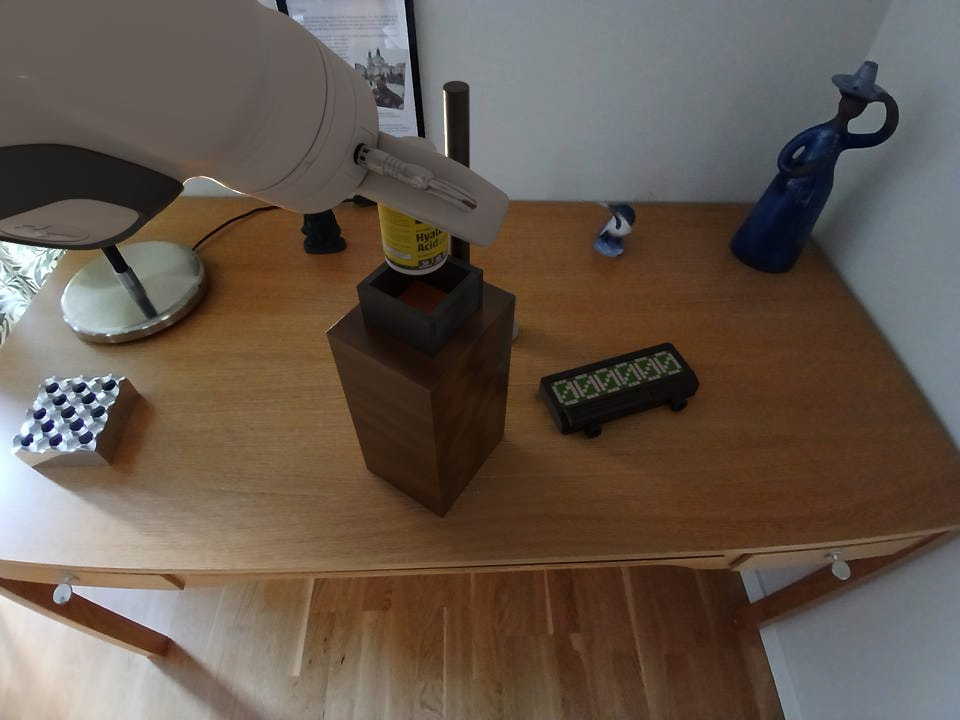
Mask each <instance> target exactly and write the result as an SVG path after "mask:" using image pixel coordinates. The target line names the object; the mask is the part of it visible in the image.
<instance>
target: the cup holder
mask: <svg viewBox="0 0 960 720" xmlns="http://www.w3.org/2000/svg"><path fill="white" fill-rule="evenodd" d="M470 90H471V87H470V85H469V83H467V82H465V81H462V80H450V81H447V82H445V83H444V84H443V85H442V103H443V105H442V107H443V129H444V131H443V132H444V156H446V157H449V158H451V159H452V160H454V161H456V162H458V163H460V164H462V165H464V166H466V167H467V168H469V169H470V170H471V168H470V167H471V159H470V158H471V154H470V153H471V150H470V149H471V142H470V141H471V140H470V139H471V137H470V135H471V134H470V133H471V126H470V125H471V124H470V123H471V122H470V121H471V119H470V118H471V117H470V113H471V111H470V110H471V109H470V108H471V107H470V106H471V104H470V99H471V98H470V96H471V95H470V94H471V93H470ZM355 289H356V293H357V299H358V303H357V304H356V305H355V306H354V307H353V308H351V310H349V311H348V312H347V313H346V314H344V315H343V316H342V317H341V318H340V319H339V320H338V321H336V322H335V324H333V325H332V326H331V327H330V328H329V329H327V331H325V334H326V337H327V340H328V344H329V347H330V350H331V354H332V357H333V361H334V365H335V367H336V371H337V374H338V377H339V380H340V381H339V382H340V383H341V388H342V390H343V393H344V397H345V401H346V403H347V408H348V410H349V415H350V418H351V421H352V424H353V427H354V430H355V431H354V432H355V434H356V437H357V439H358V441H357V442H358V445H359V447H360V452H361V454H362V457H363V461H364V464H365V467H366V469H367V470H368V471H370V472H371V473H372V474H373V475H376V477H379V478H380V479H382V480H383V481H385V482H386V483H388V484H389V485H391V486H392V487H394V488H396V489H397V490H398V491H400V492H401V493H404V494H405V495H406V496H408V497H409V498H411V499H412V500H414V501H415V502H417V503H419V504H420V505H422V507H425V508H426V509H427V510H429V511H431V513H434V514H435V515H437V516H438V517H440V518H441V519H443V518H444V517H445V516H446V514H447V513H448V512H449V511H450V510H451V508H452V506H453V505H454V504H455V503H456V501H457V500H458V498H459V497H460V495H461V494H462V493H463V492H464V491H465V489H466V488H467V486H468V485H469V484H470V482H471V481H472V479H473V478H474V477H475V475H476V474H477V473H478V472H479V470H480V469H481V467H482V466H483V465H484V463H485V462H486V461H487V459H488V458H489V457H490V456H491V454H492V453H493V452H494V450H495V449H496V447H497V446H498V445H499V443H500V442H501V441H502V439H503V438H504V436H505V427H506V415H507V407H508V394H509V393H508V392H509V381H510V368H511V360H512V359H511V358H512V346H513V340H512V336H513V324H514V319H515V312H516V305H515V301H516V298H517V295H516V294H514V293H513V294H511V293H510V291H508V290H507V291H505V290H506V289H502V288H500V287H498V286H496V285H494V284H492V283H490V282H487V281H485V280H484V269H483V268H481V267H478V266H476V265H473V264H472V263H471V243H469V242H466V241H464V240H462V239H459V238H457V237H455V236H453V235H450V234H448V256H447V259H446V261H445V262H444V264H443V265H442V266H441V267H439V268H438V269H436V270H435V271H433V272H430V273H427V274H422V275H410V274H405V273H401V272H398V271H396V270H395V269H393V268H392V267H391V266H390V265H389V264H388V263H387V261H386V260H384V261H383V262H382V263H381V264H380V265H379V266H377V267H376V268H375V269H374V270H373V271H372V272H370V273H369V274H368V275H367V276H366V277H364V278H363V279H362V280H361V281H360V282H359V283H358V284H357V285H355Z"/></svg>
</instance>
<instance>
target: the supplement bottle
mask: <svg viewBox="0 0 960 720" xmlns="http://www.w3.org/2000/svg"><path fill="white" fill-rule="evenodd" d="M397 137H398V138H401V139H403V140H406V141H409V142H411V143H414V144H416V145H419V146H422V147H424V148H427V149H430V150H432V151H435V152H437V146H436V145H435V144H434V143H433V142H432V141H431V140H430V139H427V138H426V137H421V136H415V135H404V136H397ZM377 209H378V217H379V224H380V230H381V232H380V234H381V240H382V247H383V254H384V258H385V261H387V263H388V264H389V265H390V266H391V267H392V268H393V269H395V270H396V271H398V272H401V273H405V274H410V275H422V274H427V273H430V272H433V271H435V270H436V269H438V268H439V267H441V266H442V265H443V264H444V262H445V261H446V259H447V256H448V254H449V236H448V233H446V232H443V231H441V230H439V229H436V228H434V227H432V226H430V225H427V224H425V223H423V222H420V221H418V220H416V219H413V218H411V217H409V216H407V215H404V214H402V213H400V212H397V211H395V210H393V209H391V208H388V207H386V206H384V205H381V204H379V203H377Z"/></svg>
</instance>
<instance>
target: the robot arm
mask: <svg viewBox="0 0 960 720" xmlns="http://www.w3.org/2000/svg"><path fill="white" fill-rule="evenodd" d="M398 137H399V136H395V135H393V134H391V133H388V132H384V131H382V130H380V119H379V109H378V104H377V101H376V98H375V96H374V93H373V90H372V89H371V86H370V85H369V83H368V82H367V80H366V79H365V78H364V76H363V75H362V74H361V73H360V72H359V71H358V70H357V69H355V68H354V67H353V66H352V65H350V64H349V63H348V62H347V61H346V60H344V58H342V57H341V56H340V55H338V54H337V53H336V52H335V51H334V50H333V49H332V48H330V47H329V46H328V45H327V44H325V42H323V41H322V40H321V39H319V38H318V37H317V36H316V35H314V34H313V33H312V32H311V31H310V30H308V29H307V28H306V27H304V26H303V25H302V24H301V23H300V22H298V21H297V20H295V19H294V18H293V17H292V16H289V15H288V14H286V13H284V12H281V11H280V10H277V9H274V8H272V7H268V6H266V5H264V4H262V3H261V2H260V1H259V0H0V242H3V243H8V244H9V243H10V244H14V245H21V246H28V247H35V248H42V249H43V248H44V249H50V250H51V249H52V250H62V251H95V250H100V249H105V248H108V247H112V246H115V245H118V244H121V243H122V242H125V241H126V240H128V239H130V238H131V237H133V236H134V235H135V234H137V233H138V232H139V231H141V229H143V228H144V227H145V226H147V225H148V224H149V223H150V222H151V221H153V220H154V219H155V218H157V217H158V216H159V215H160V214H162V213H163V212H164V211H165V210H166V209H168V208H170V206H171V205H172V204H173V203H175V202H176V200H177V199H179V198H180V196H181V195H182V194H183V193H184V192H185V186H184V185H185V183H186V182H187V181H188V180H191V179H196V178H197V179H198V178H206V179H210V180H212V181H214V182H215V183H218V184H219V185H221V186H222V187H224V188H226V189H228V190H231V191H234V192H236V193H239V194H243V195H245V196H248V197H250V198H254V199H257V200H259V201H261V202H264V203H266V204H270V205H272V206H276V207H278V208H281V209H284V210H287V211H290V212H293V213H297V214H304V215H311V214H312V215H313V214H319V213H323V212H325V211H328V210H330V209H333V208H335V207H336V206H338V205H340V204H341V203H343V202H344V201H345V200H347V199H348V198H349V197H350V196H351V195H352V194H353V193H354V194H356V195H358V196H361V197H363V198H365V199H367V200H369V201H371V202H374V203H377V204H378V203H379V204H381V205H384V206H386V207H388V208H391V209H393V210H395V211H397V212H400V213H402V214H404V215H407V216H409V217H411V218H413V219H416V220H418V221H420V222H423V223H425V224H427V225H430V226H432V227H434V228H436V229H439V230H441V231H443V232H446V233H448V234H450V235H453V236H455V237H457V238H459V239H462V240H464V241H466V242H469V243H470V245H474V246H476V247H478V248H479V247H480V248H483V249H484V248H489V247H491V246H492V245H493V244H494V243H495V241H496V239H497V237H498V235H499V233H500V231H501V228H502V226H503V224H504V222H505V219H506V217H507V214H508V212H509V207H510V198H509V195H507V193H505V192H504V191H503V190H501V189H500V188H499V187H497V186H496V185H495V184H493V183H492V182H490V181H489V180H487V179H486V178H484V177H483V176H482V175H480V174H478V173H476V171H473V170H472V169H471V168H470V169H469V168H467V167H466V166H464V165H462V164H460V163H458V162H456V161H454V160H452V159H451V158H449V157H446V156H445V154H442V153H440V152H435V151H432V150H430V149H427V148H424V147H422V146H419V145H416V144H414V143H411V142H409V141H406V140H403V139H401V138H398Z"/></svg>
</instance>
